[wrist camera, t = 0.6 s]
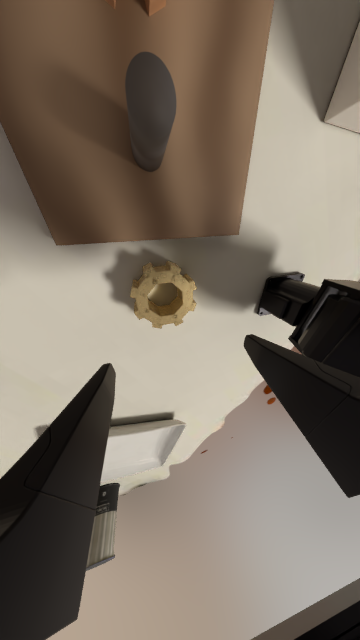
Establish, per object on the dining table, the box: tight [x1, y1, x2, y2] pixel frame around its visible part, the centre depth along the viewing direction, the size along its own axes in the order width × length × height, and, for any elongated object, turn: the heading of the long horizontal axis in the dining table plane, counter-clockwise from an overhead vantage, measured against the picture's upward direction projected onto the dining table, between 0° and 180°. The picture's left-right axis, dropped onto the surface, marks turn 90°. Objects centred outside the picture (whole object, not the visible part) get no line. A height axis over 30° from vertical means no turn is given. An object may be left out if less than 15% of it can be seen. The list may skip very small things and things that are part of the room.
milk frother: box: [86, 484, 120, 571], centre depth 47 cm, size 14×16×15 cm
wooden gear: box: [130, 261, 197, 328], centre depth 17 cm, size 7×7×3 cm
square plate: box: [100, 420, 186, 483], centre depth 36 cm, size 27×27×4 cm
